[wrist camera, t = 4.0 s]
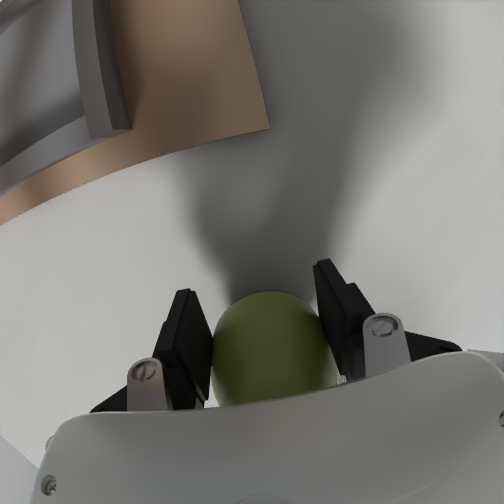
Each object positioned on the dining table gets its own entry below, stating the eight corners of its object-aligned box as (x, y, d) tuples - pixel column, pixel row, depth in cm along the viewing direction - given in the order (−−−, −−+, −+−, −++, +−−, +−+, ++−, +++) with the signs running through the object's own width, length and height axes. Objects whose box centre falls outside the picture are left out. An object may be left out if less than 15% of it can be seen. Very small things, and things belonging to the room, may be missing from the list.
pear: (229, 357, 16) (227, 515, 7) (201, 285, 14) (165, 476, 5) (320, 338, 16) (368, 491, 7) (309, 261, 14) (390, 442, 5)
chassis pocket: (209, -80, 6) (204, -110, 3) (268, 129, 11) (276, 127, 9) (-55, 82, 7) (-79, 84, 4) (-29, 243, 12) (-54, 260, 10)
